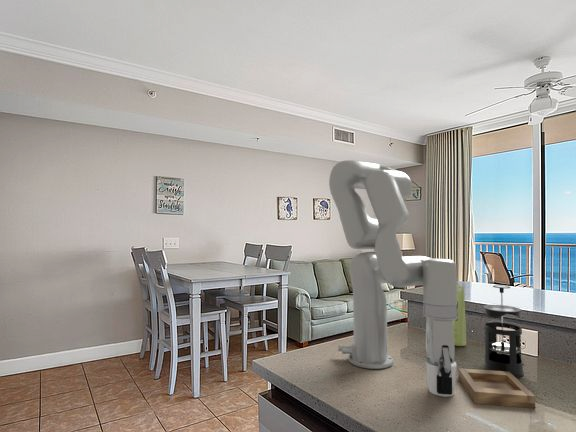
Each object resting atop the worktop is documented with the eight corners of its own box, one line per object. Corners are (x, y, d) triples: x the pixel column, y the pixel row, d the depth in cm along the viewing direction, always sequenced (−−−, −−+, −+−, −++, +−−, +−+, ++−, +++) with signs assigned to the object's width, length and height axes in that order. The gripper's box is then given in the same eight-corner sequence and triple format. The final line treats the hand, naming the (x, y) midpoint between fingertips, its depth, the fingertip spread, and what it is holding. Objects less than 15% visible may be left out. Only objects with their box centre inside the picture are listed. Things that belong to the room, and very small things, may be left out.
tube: (446, 344, 124) (445, 285, 124) (450, 340, 128) (449, 283, 128) (464, 347, 120) (463, 286, 121) (468, 343, 124) (467, 285, 125)
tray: (474, 403, 82) (474, 391, 82) (458, 378, 96) (458, 368, 96) (535, 408, 80) (535, 396, 80) (509, 381, 93) (509, 371, 94)
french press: (534, 378, 95) (531, 288, 96) (498, 379, 95) (496, 288, 96) (505, 362, 107) (504, 281, 108) (473, 362, 107) (472, 282, 108)
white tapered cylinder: (441, 400, 84) (441, 368, 84) (419, 388, 90) (419, 358, 90) (463, 394, 86) (463, 364, 87) (441, 383, 93) (440, 354, 93)
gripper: (418, 303, 98) (419, 372, 97) (430, 318, 81) (431, 402, 80) (448, 304, 96) (449, 374, 96) (467, 320, 80) (468, 405, 79)
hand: (441, 386), depth 88 cm, fingers closed on white tapered cylinder, 6 cm apart
